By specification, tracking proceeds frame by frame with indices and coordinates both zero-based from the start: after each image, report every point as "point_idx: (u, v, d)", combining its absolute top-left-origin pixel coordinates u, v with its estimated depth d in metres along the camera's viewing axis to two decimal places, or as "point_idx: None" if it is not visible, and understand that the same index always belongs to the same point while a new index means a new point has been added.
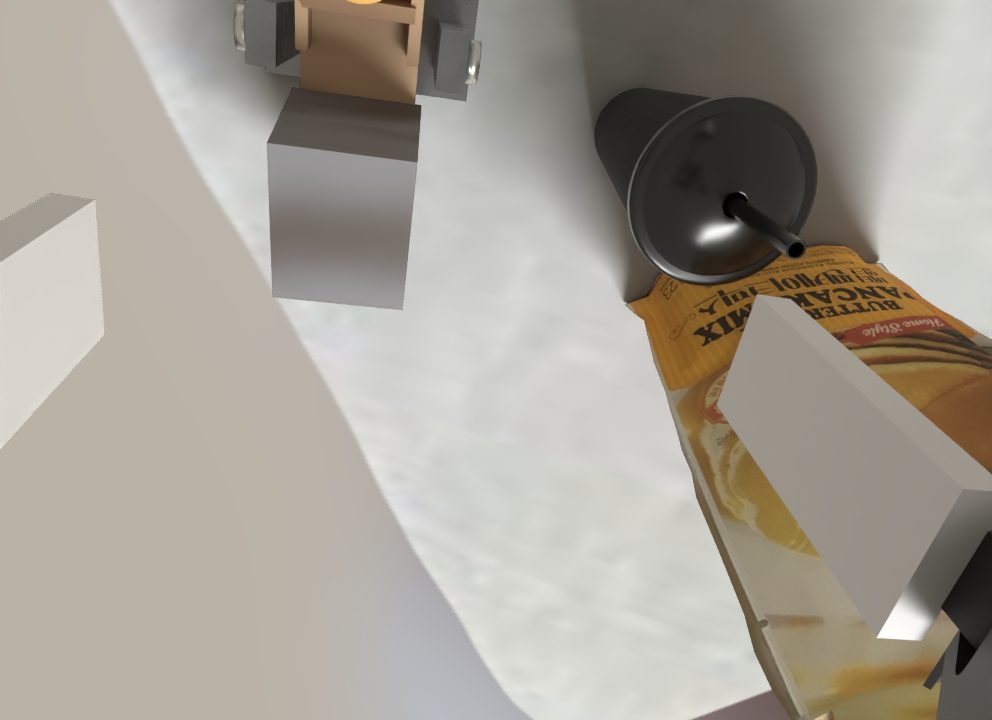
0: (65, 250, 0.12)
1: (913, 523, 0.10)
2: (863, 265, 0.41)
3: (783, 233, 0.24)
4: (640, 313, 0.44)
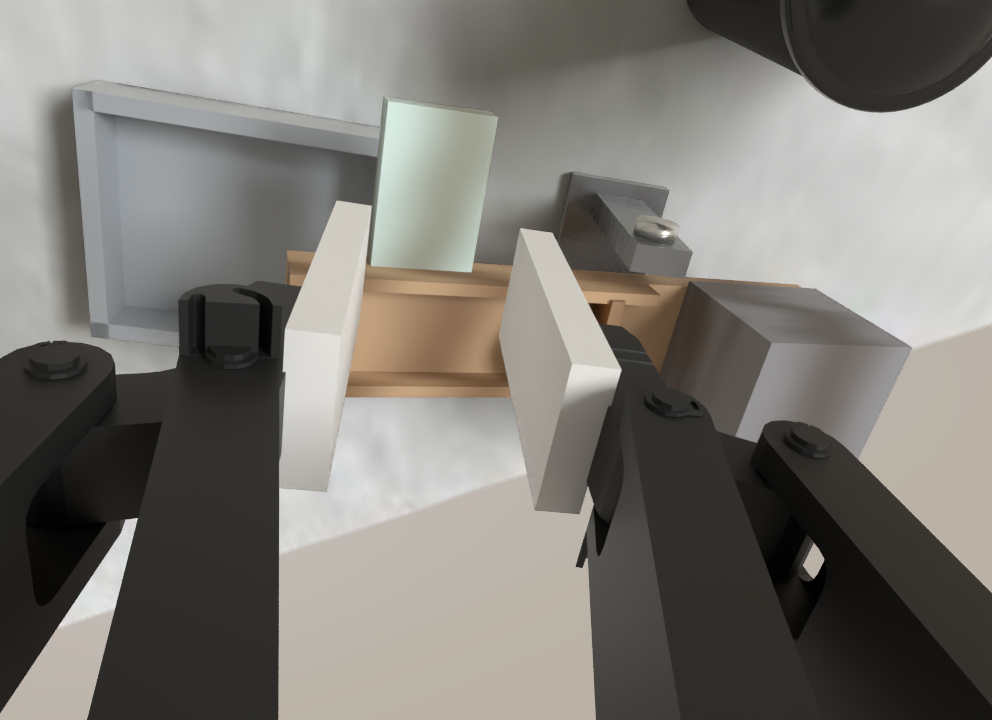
0: (365, 247, 0.15)
1: (554, 403, 0.11)
2: None
3: None
4: None
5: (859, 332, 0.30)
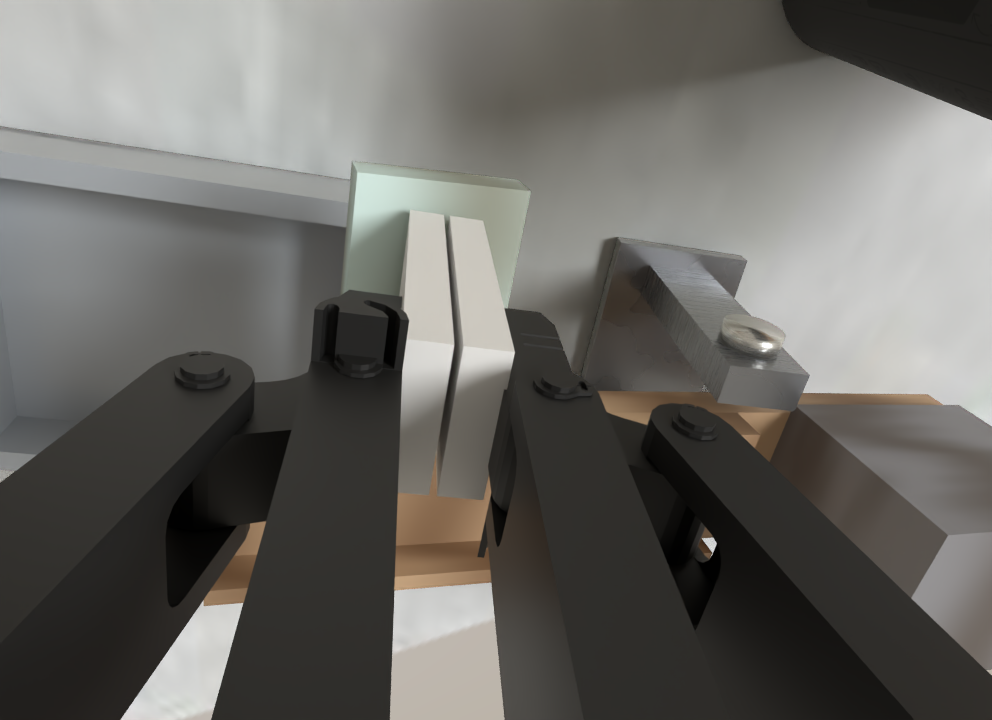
0: None
1: (453, 387, 0.11)
2: None
3: None
4: None
5: None
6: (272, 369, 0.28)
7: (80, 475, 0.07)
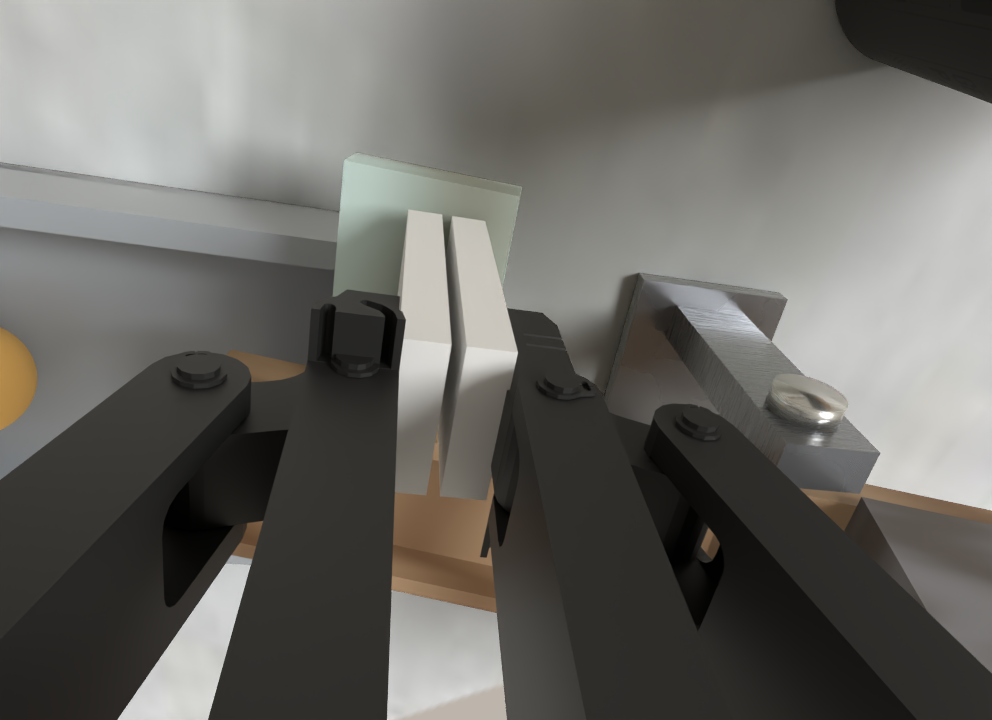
0: None
1: (455, 387, 0.11)
2: None
3: None
4: None
5: None
6: None
7: (76, 475, 0.07)
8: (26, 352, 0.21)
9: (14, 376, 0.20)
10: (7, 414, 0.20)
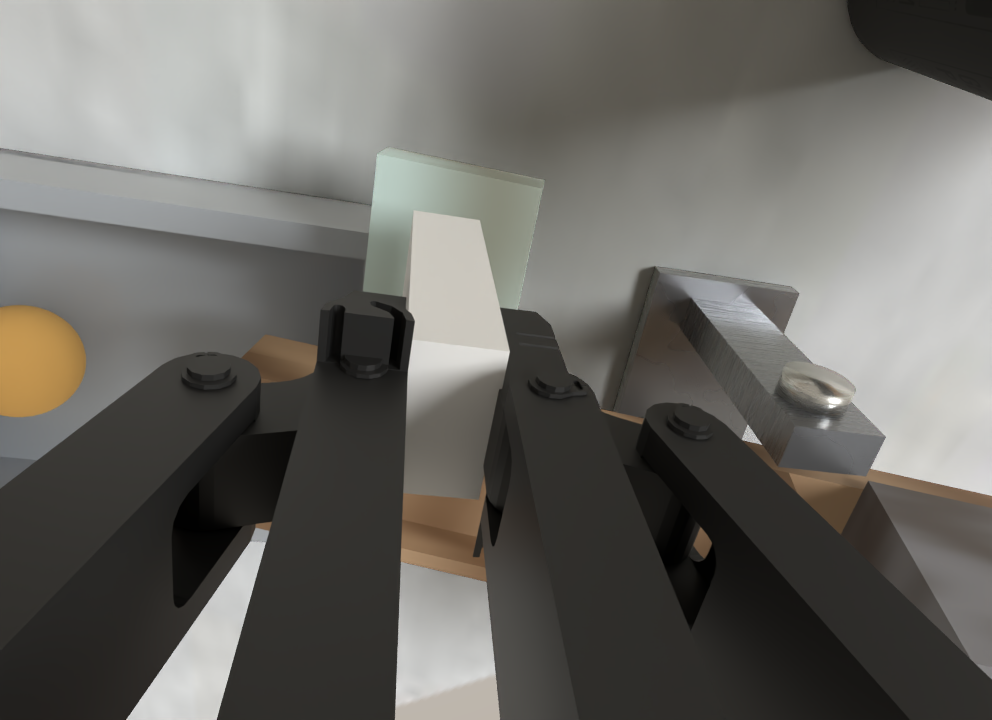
0: None
1: None
2: None
3: None
4: None
5: None
6: None
7: (87, 475, 0.07)
8: (76, 334, 0.22)
9: (70, 356, 0.22)
10: (63, 393, 0.22)
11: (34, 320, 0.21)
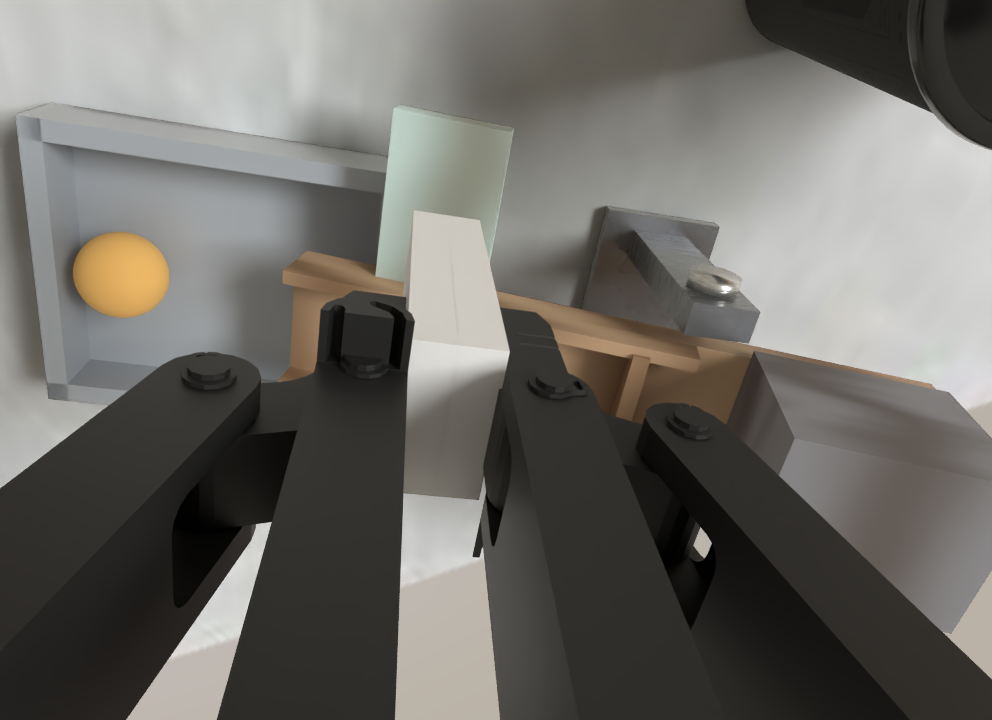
0: None
1: None
2: None
3: None
4: None
5: (963, 455, 0.21)
6: None
7: (87, 475, 0.07)
8: (162, 255, 0.29)
9: (161, 269, 0.29)
10: (156, 297, 0.29)
11: (135, 241, 0.28)
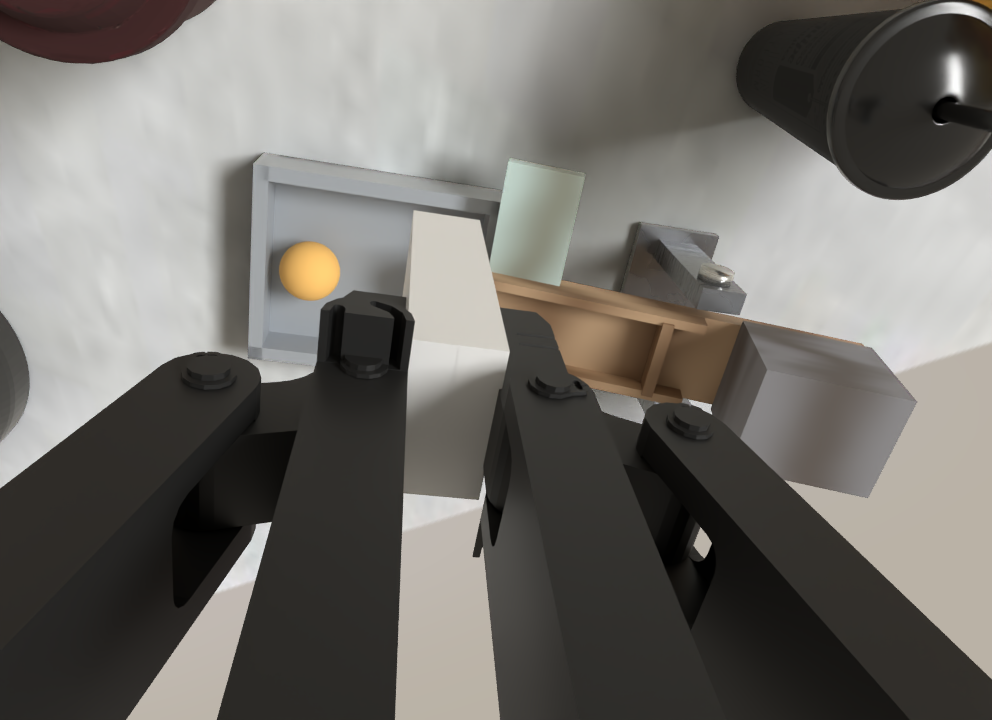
0: None
1: None
2: None
3: None
4: None
5: (872, 381, 0.34)
6: None
7: (87, 475, 0.07)
8: None
9: (338, 266, 0.41)
10: (335, 286, 0.42)
11: (322, 247, 0.41)
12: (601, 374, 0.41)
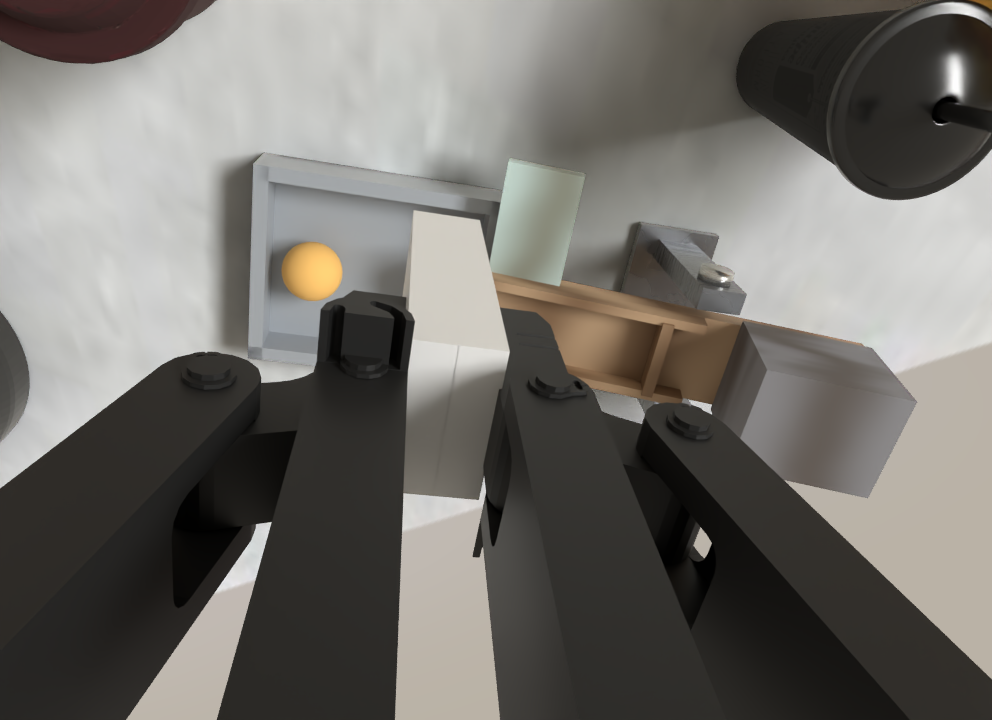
0: None
1: None
2: None
3: None
4: None
5: (872, 382, 0.34)
6: None
7: (87, 475, 0.07)
8: None
9: (341, 266, 0.42)
10: (338, 285, 0.42)
11: (325, 247, 0.41)
12: (601, 374, 0.41)
